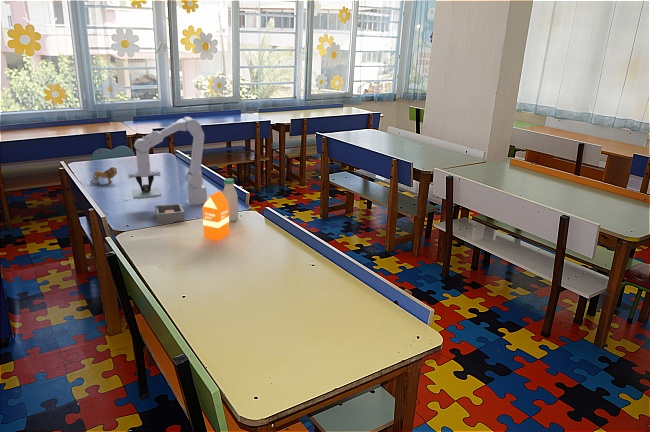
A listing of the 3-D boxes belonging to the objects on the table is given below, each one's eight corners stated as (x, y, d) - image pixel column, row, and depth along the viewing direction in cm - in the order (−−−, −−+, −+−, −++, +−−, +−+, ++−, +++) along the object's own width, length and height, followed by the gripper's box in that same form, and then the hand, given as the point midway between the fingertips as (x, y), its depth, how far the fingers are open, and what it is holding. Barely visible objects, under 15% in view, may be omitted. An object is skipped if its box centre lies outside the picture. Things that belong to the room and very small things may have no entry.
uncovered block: (173, 215, 242) (173, 209, 241) (174, 218, 238) (174, 212, 237) (165, 216, 240) (164, 210, 239) (166, 219, 237) (165, 213, 236)
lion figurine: (119, 180, 291) (117, 165, 288) (117, 183, 286) (115, 168, 283) (91, 181, 288) (89, 166, 284) (89, 184, 283) (87, 168, 279)
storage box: (181, 212, 247) (180, 203, 245) (184, 221, 237) (184, 211, 235) (155, 215, 242) (154, 205, 241) (158, 224, 232) (157, 214, 230)
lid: (158, 190, 254) (157, 180, 252) (161, 198, 243) (160, 187, 241) (131, 192, 249) (130, 182, 247) (133, 200, 238) (132, 189, 236)
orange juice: (203, 237, 220) (201, 194, 213) (215, 230, 228) (213, 188, 221) (219, 241, 218) (217, 197, 210) (229, 233, 225) (228, 191, 218)
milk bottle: (241, 219, 242) (240, 179, 235) (228, 223, 237) (227, 182, 230) (231, 215, 247) (230, 176, 240) (218, 218, 242) (217, 179, 234)
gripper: (127, 167, 234) (130, 194, 239) (160, 165, 240) (162, 192, 245) (127, 163, 240) (129, 190, 245) (158, 161, 246) (160, 187, 251)
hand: (146, 190), depth 245 cm, fingers closed on lid, 3 cm apart
